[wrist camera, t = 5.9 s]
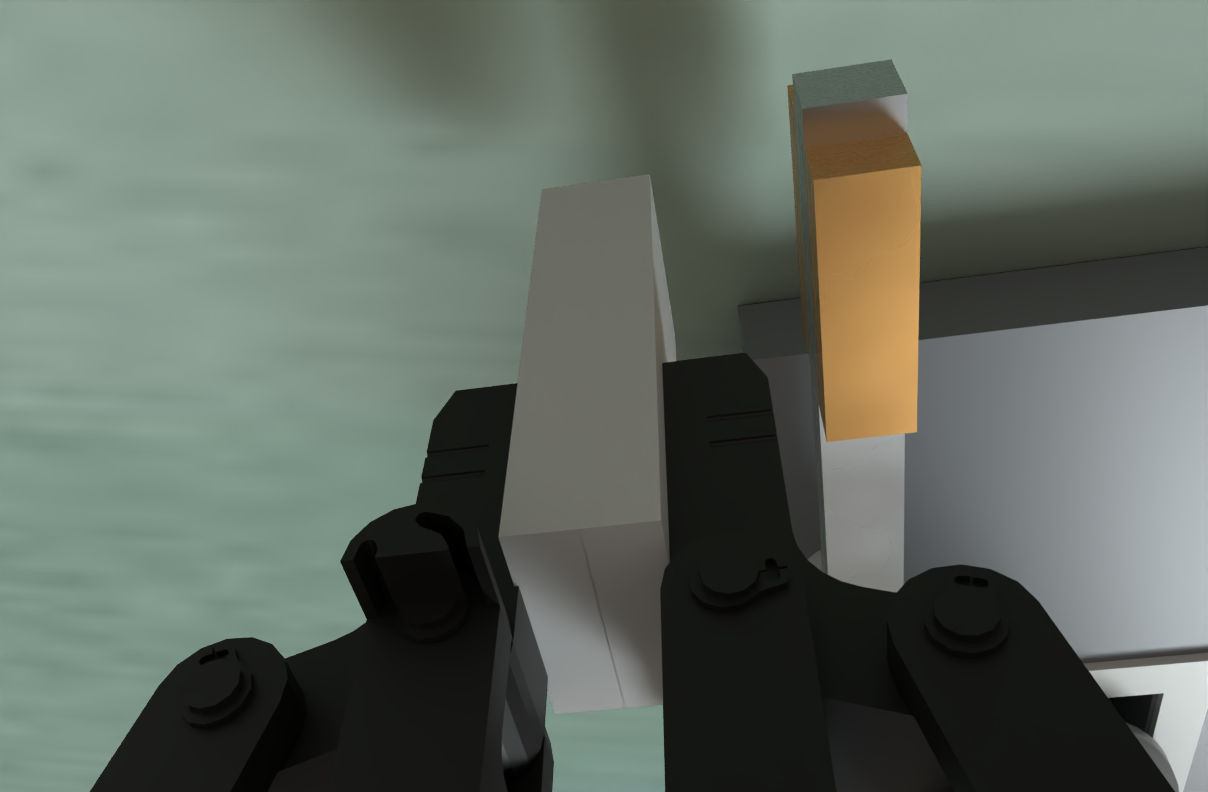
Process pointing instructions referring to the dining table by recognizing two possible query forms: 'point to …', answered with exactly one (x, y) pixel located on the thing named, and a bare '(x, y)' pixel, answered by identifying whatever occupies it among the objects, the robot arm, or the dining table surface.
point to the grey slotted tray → (1054, 463)
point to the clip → (858, 307)
